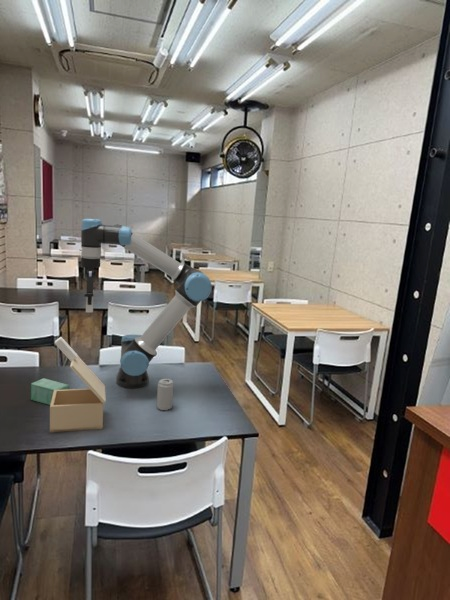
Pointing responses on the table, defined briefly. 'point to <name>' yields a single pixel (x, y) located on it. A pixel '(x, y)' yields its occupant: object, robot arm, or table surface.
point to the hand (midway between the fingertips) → (89, 308)
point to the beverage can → (165, 394)
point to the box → (45, 390)
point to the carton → (75, 410)
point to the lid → (82, 370)
